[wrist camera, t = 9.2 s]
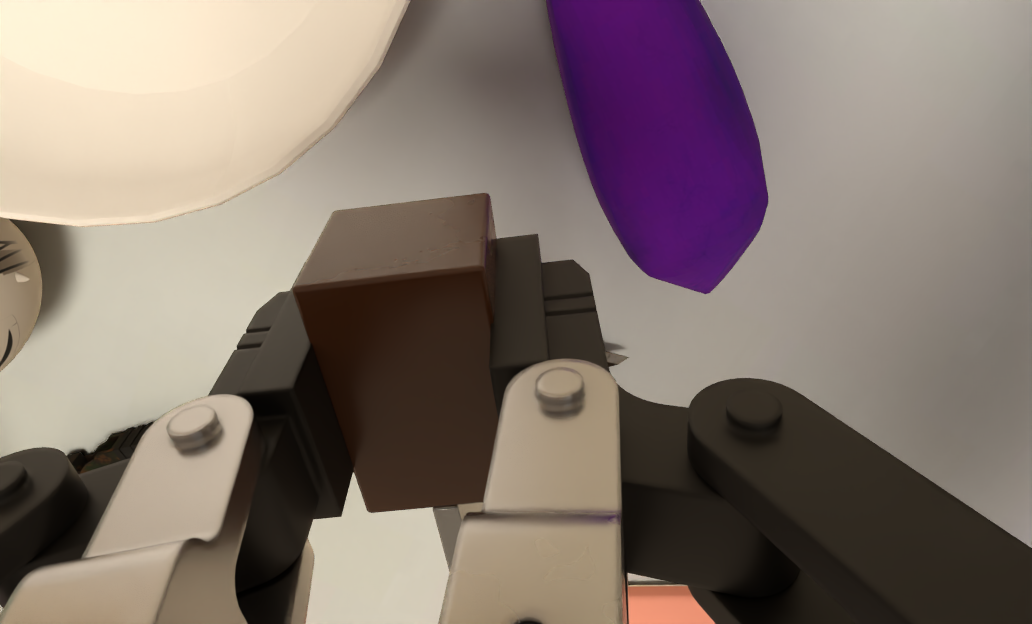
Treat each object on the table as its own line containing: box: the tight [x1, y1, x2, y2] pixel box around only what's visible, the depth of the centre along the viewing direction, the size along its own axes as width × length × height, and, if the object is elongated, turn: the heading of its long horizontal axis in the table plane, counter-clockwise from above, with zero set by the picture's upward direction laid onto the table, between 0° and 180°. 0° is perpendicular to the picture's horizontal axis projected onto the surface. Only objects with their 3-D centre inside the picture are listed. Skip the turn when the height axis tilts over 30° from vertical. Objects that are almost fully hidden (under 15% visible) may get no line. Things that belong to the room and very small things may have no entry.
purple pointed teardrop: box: [546, 0, 768, 294], centre depth 20 cm, size 5×5×15 cm
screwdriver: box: [292, 193, 499, 571], centre depth 13 cm, size 13×2×2 cm, turn 7°
